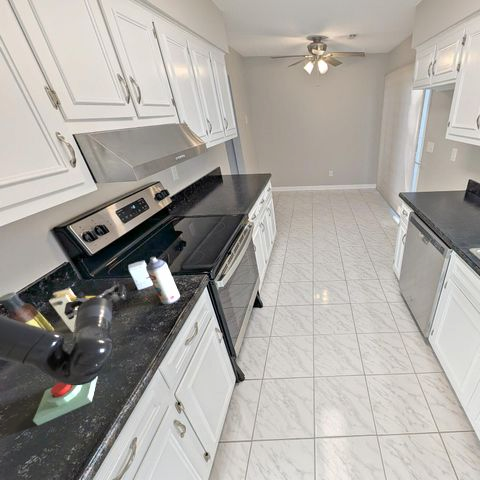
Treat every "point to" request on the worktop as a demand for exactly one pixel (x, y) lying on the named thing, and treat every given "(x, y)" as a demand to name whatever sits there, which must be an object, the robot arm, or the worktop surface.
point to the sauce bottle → (23, 311)
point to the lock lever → (76, 296)
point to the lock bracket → (63, 306)
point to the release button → (60, 389)
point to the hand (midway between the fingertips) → (99, 288)
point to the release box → (64, 402)
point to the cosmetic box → (140, 275)
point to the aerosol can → (162, 281)
